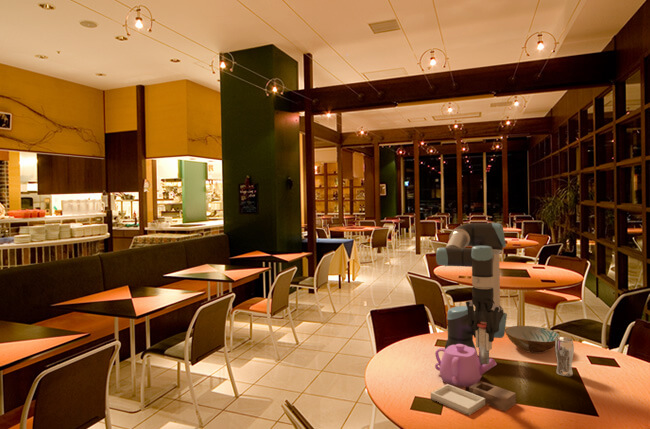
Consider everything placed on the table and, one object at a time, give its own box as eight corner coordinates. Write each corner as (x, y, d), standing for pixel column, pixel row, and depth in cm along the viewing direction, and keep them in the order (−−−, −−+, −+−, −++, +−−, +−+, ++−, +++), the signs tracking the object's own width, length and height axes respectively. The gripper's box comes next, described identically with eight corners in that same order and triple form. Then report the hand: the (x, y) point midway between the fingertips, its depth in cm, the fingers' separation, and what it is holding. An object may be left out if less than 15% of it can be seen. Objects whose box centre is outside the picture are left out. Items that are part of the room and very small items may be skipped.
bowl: (517, 337, 219) (516, 322, 218) (568, 348, 200) (568, 332, 200) (496, 349, 202) (496, 333, 201) (550, 362, 183) (550, 345, 183)
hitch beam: (469, 397, 153) (469, 387, 153) (480, 390, 158) (480, 380, 158) (505, 411, 142) (505, 400, 142) (516, 403, 147) (515, 393, 147)
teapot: (430, 371, 178) (429, 339, 178) (474, 366, 181) (473, 335, 181) (450, 390, 159) (449, 355, 159) (498, 385, 162) (498, 350, 162)
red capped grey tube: (475, 362, 153) (474, 323, 152) (481, 359, 155) (481, 321, 155) (486, 365, 149) (485, 326, 149) (492, 362, 152) (491, 323, 152)
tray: (430, 399, 153) (430, 392, 152) (447, 390, 159) (447, 383, 159) (468, 415, 140) (468, 408, 140) (485, 405, 147) (485, 398, 147)
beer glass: (576, 377, 167) (576, 341, 167) (558, 376, 169) (558, 341, 168) (570, 370, 174) (569, 336, 174) (552, 369, 176) (552, 335, 175)
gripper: (457, 285, 156) (458, 344, 156) (498, 291, 143) (500, 356, 143) (468, 282, 160) (469, 340, 161) (509, 288, 147) (510, 351, 148)
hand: (483, 347), depth 152 cm, fingers closed on red capped grey tube, 3 cm apart
